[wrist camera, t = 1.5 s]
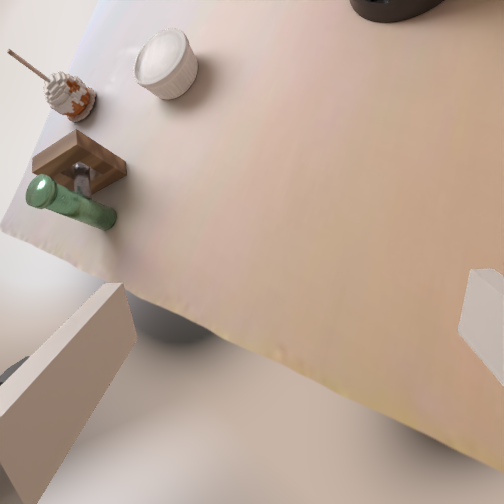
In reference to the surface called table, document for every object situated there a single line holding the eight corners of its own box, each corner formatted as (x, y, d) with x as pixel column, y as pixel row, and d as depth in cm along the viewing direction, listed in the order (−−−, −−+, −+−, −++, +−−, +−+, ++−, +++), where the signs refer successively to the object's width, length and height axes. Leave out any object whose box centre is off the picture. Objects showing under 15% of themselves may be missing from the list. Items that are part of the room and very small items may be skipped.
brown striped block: (126, 174, 57) (76, 144, 48) (86, 197, 60) (32, 172, 51) (125, 161, 58) (76, 129, 49) (85, 184, 61) (32, 157, 52)
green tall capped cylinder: (118, 226, 54) (48, 197, 43) (97, 236, 56) (25, 211, 45) (112, 155, 60) (48, 114, 49) (93, 166, 61) (28, 129, 50)
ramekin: (147, 76, 62) (127, 54, 57) (194, 40, 59) (177, 14, 54) (159, 117, 57) (138, 97, 53) (210, 80, 54) (193, 56, 50)
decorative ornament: (101, 105, 66) (26, 46, 53) (75, 130, 67) (-4, 78, 54) (92, 84, 69) (19, 23, 56) (68, 108, 71) (-9, 54, 57)
